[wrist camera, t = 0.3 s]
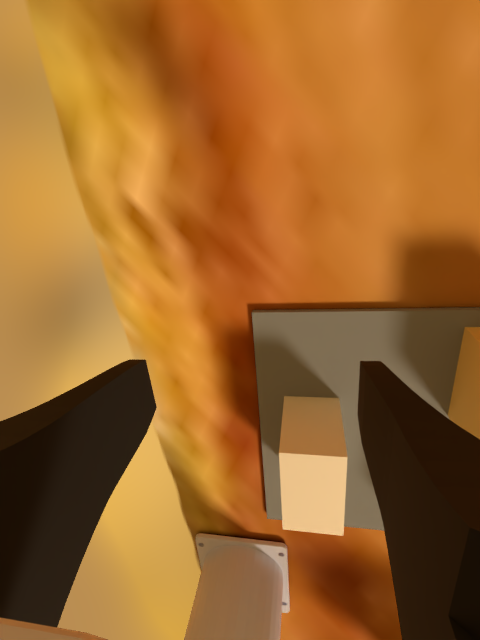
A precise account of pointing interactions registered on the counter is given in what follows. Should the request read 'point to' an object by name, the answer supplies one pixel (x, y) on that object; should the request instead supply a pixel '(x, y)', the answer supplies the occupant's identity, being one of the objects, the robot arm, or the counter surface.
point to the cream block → (313, 465)
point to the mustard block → (467, 384)
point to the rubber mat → (350, 377)
